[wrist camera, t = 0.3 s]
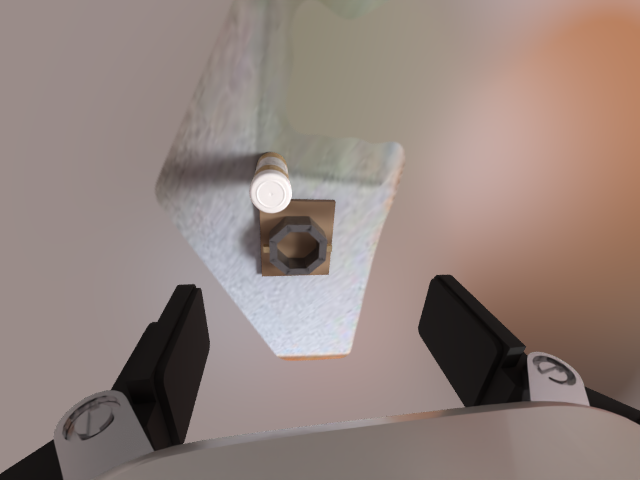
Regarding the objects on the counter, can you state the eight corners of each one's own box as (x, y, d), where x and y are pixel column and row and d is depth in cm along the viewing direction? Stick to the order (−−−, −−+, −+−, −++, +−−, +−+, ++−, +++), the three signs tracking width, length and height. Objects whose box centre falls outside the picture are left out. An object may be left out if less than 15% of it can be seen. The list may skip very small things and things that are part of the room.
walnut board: (259, 198, 43) (259, 200, 42) (334, 199, 45) (335, 201, 44) (262, 273, 49) (261, 276, 49) (327, 271, 51) (328, 274, 50)
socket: (263, 215, 43) (262, 224, 40) (330, 216, 45) (334, 225, 42) (264, 264, 48) (264, 275, 44) (326, 263, 49) (330, 273, 46)
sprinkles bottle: (277, 187, 43) (278, 221, 31) (251, 172, 41) (241, 201, 29) (293, 161, 41) (300, 187, 30) (265, 144, 40) (261, 164, 28)
